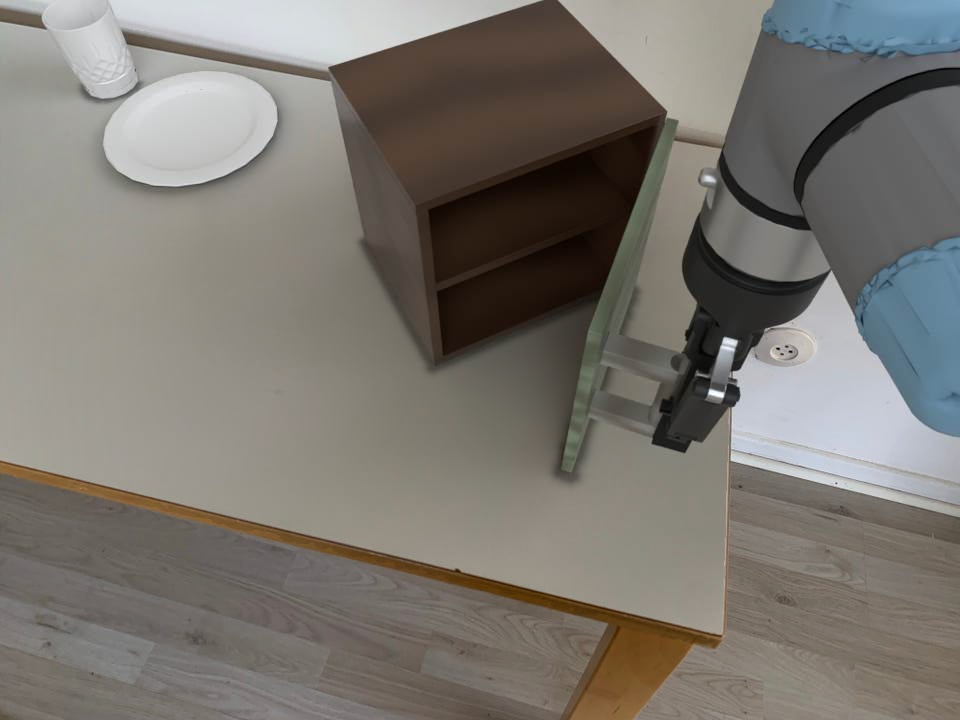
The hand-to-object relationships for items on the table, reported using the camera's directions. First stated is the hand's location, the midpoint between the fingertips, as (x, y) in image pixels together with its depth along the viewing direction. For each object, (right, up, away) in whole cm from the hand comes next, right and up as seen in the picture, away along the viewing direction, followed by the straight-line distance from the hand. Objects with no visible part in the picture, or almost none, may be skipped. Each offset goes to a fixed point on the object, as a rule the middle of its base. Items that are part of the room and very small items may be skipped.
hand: (671, 430), depth 59 cm
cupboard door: (-1, +3, +11) cm, 12 cm away
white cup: (-64, +42, +37) cm, 84 cm away
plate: (-50, +33, +31) cm, 68 cm away
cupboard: (-14, +16, +19) cm, 29 cm away
